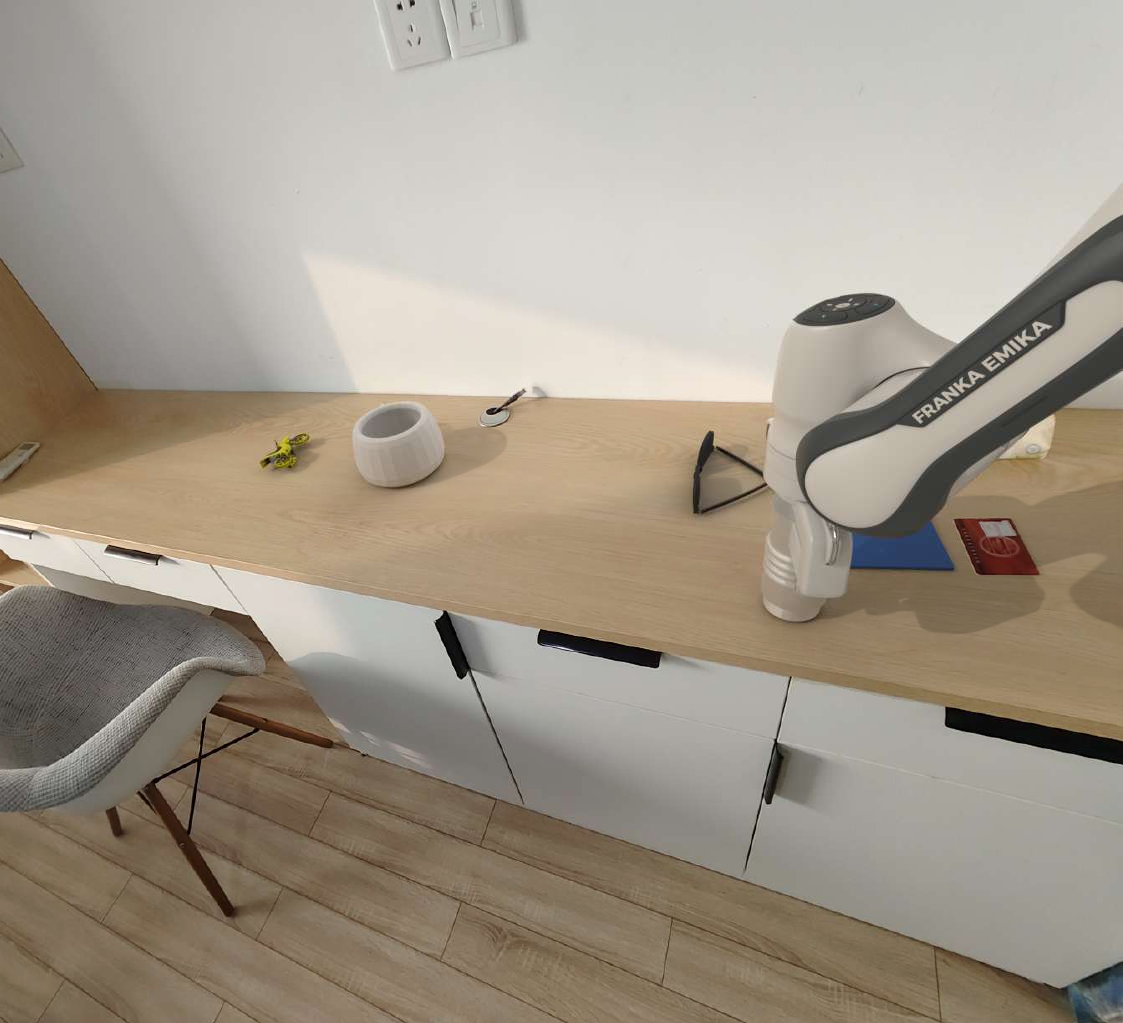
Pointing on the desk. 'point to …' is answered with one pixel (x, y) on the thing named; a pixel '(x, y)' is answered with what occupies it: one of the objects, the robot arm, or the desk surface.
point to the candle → (783, 570)
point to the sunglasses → (702, 458)
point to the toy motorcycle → (284, 452)
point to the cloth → (901, 552)
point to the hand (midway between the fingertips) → (797, 563)
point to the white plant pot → (397, 444)
